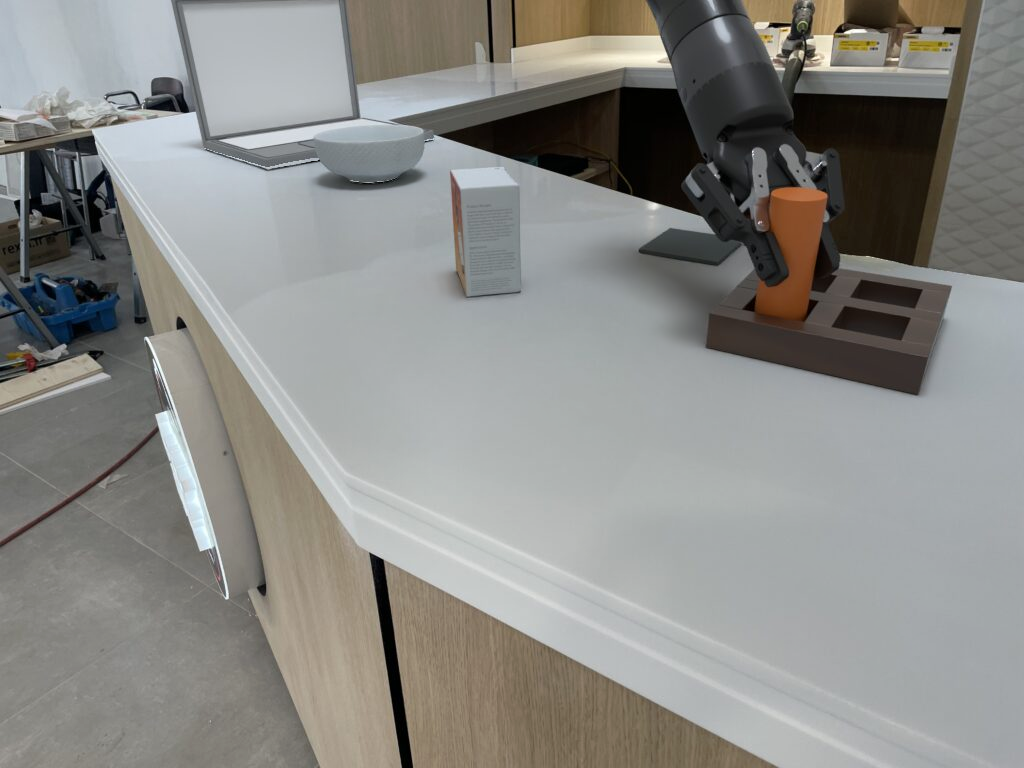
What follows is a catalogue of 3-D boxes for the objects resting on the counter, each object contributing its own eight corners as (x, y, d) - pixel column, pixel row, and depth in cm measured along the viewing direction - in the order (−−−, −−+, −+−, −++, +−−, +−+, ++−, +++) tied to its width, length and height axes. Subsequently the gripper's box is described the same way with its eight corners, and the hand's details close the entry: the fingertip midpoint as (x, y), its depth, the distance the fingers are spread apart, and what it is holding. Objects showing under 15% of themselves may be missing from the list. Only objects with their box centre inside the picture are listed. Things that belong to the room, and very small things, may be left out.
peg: (758, 325, 63) (779, 184, 57) (806, 334, 61) (833, 190, 55) (744, 342, 60) (764, 196, 54) (794, 353, 58) (820, 202, 52)
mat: (669, 231, 87) (670, 227, 87) (744, 242, 83) (745, 238, 83) (638, 252, 81) (638, 248, 80) (717, 265, 76) (718, 261, 76)
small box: (455, 270, 77) (448, 168, 72) (507, 265, 78) (504, 165, 73) (465, 298, 70) (458, 187, 65) (522, 292, 71) (519, 183, 66)
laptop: (267, 170, 123) (235, -5, 110) (203, 149, 141) (169, -3, 128) (434, 140, 143) (423, -11, 130) (359, 125, 161) (343, -9, 148)
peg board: (762, 286, 71) (766, 256, 69) (943, 318, 63) (952, 285, 62) (705, 347, 59) (709, 313, 58) (918, 395, 52) (928, 357, 50)
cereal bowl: (447, 171, 119) (444, 125, 115) (386, 195, 106) (380, 145, 102) (364, 163, 126) (358, 120, 122) (297, 185, 113) (289, 137, 109)
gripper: (673, 64, 55) (751, 269, 50) (827, 53, 59) (912, 242, 54) (635, 127, 62) (701, 312, 57) (776, 114, 66) (847, 285, 61)
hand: (803, 277), depth 56 cm, fingers closed on peg, 4 cm apart
